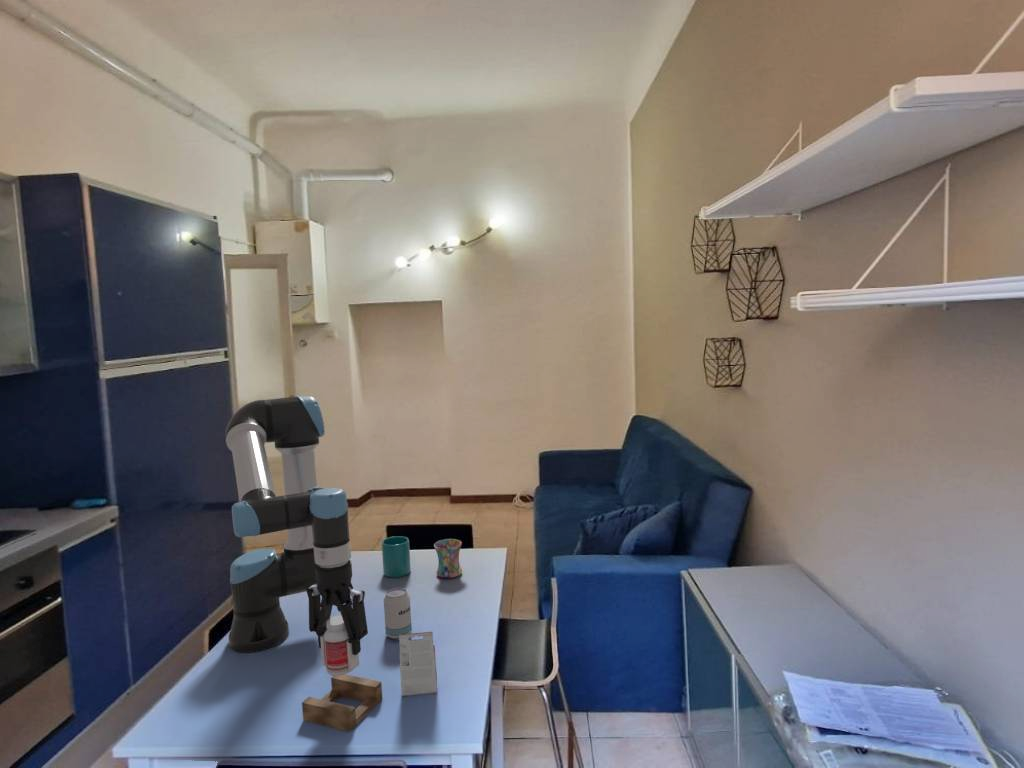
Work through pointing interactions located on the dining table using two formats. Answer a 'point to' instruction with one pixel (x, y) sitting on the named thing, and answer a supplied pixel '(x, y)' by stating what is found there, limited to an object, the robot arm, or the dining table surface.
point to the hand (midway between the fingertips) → (340, 664)
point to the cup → (396, 556)
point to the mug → (448, 558)
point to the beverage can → (397, 613)
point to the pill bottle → (336, 646)
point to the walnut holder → (338, 713)
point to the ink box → (417, 664)
